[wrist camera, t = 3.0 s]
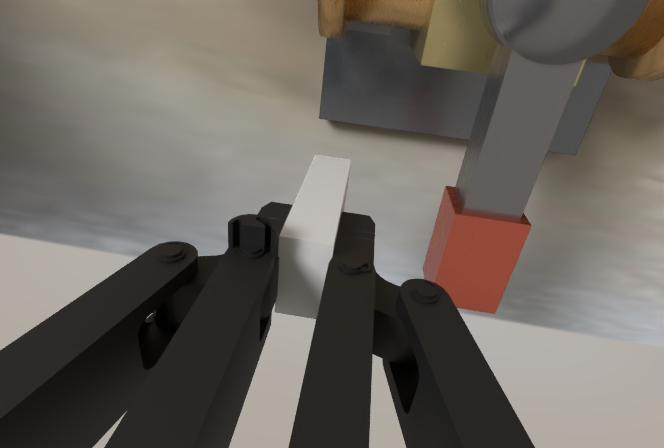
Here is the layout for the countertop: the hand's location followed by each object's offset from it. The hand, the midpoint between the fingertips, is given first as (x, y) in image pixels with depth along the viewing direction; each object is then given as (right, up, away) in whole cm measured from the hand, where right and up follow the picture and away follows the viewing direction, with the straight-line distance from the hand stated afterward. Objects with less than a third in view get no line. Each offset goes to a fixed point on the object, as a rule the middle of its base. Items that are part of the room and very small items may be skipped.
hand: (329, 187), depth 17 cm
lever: (+6, +2, -2) cm, 7 cm away
